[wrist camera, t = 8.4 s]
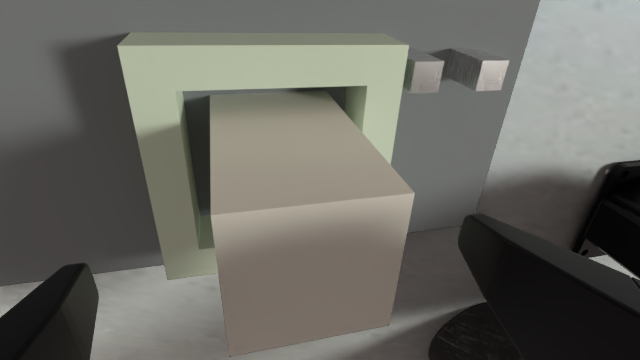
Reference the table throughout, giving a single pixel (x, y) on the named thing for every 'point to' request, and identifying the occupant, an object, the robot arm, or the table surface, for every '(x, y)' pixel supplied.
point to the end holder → (231, 74)
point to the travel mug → (474, 338)
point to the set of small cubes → (454, 70)
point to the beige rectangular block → (301, 220)
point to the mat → (120, 136)
